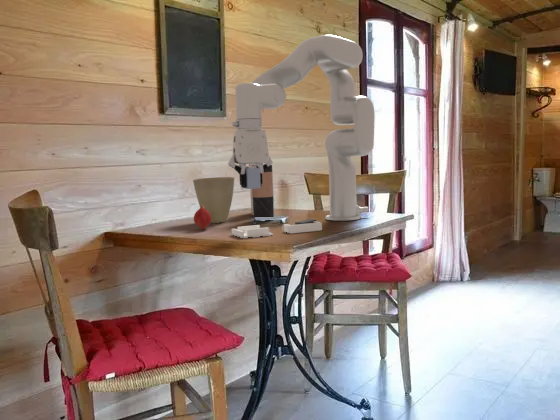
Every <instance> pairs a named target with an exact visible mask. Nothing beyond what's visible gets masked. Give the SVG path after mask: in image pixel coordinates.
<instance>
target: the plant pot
mask: <svg viewBox="0 0 560 420" xmlns="http://www.w3.org/2000/svg"><path fill="white" fill-rule="evenodd" d="M192 180H193V186H194V190H195V195H196V199H197V202H198V205H199V209H200V208H201V206H204V208H205V209H206V210H208V211H209V213H210V214H211V218H212V219H211V223H210V224H220V222H221V223H226V222H227V221H228V218H229V214H230V210H231V206H232V201H233V195H234V187H235V176H218V177H201V178H193V179H192Z"/></svg>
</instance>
